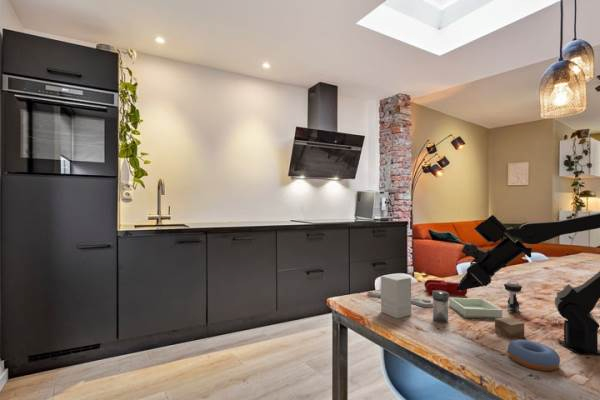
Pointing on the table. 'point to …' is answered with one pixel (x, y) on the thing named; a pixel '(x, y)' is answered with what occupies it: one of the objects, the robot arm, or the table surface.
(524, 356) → the doughnut
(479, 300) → the bin
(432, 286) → the mechanical linkage
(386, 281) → the supplement box
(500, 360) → the table surface
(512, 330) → the walnut block
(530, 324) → the table surface
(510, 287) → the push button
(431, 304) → the adjustable wrench
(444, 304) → the pepper shaker
